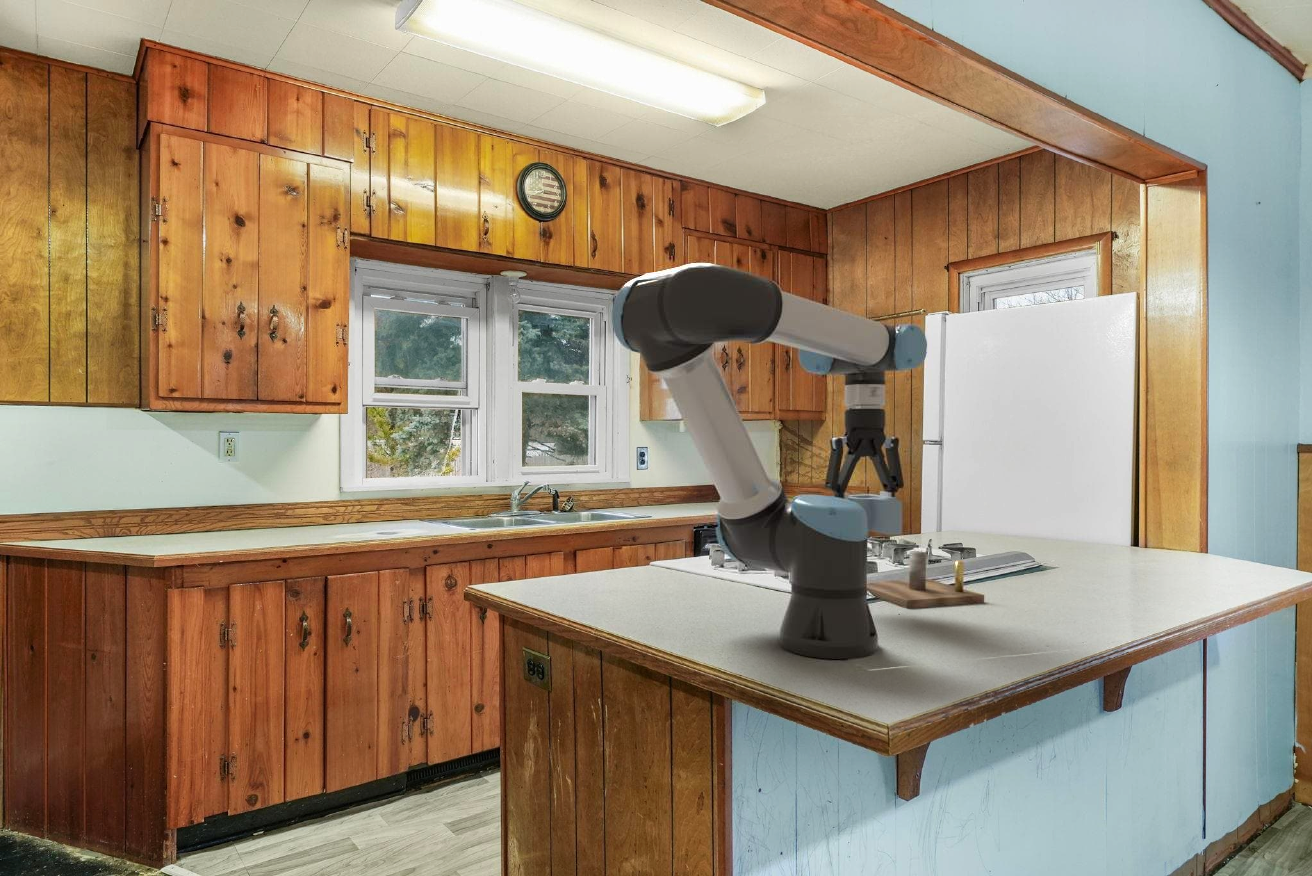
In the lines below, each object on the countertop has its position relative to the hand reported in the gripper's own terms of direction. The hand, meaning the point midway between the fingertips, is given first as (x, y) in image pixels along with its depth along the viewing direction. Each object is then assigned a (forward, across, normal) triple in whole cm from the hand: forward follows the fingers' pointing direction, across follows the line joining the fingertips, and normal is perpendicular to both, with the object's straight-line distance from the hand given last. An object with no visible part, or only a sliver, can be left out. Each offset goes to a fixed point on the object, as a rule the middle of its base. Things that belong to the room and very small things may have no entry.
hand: (864, 526), depth 154 cm
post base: (+16, +17, +6) cm, 24 cm away
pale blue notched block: (0, 0, -3) cm, 3 cm away
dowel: (+14, +23, +2) cm, 27 cm away
